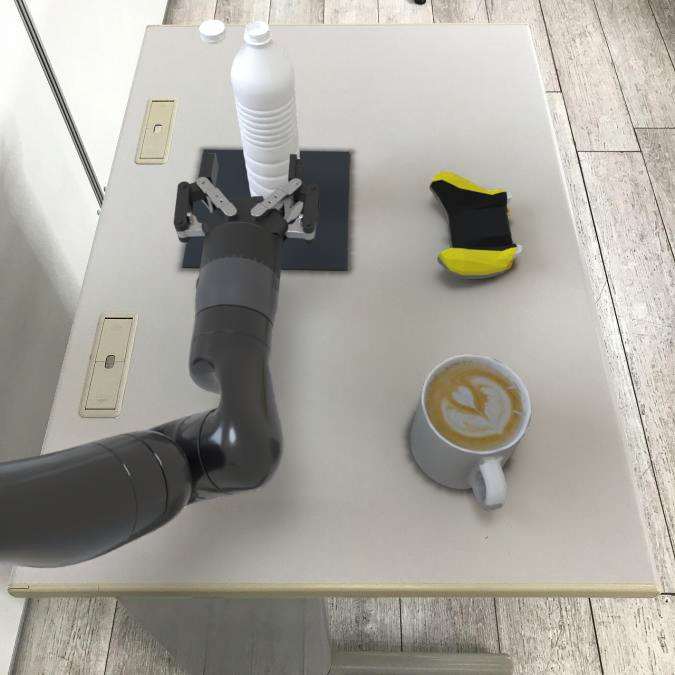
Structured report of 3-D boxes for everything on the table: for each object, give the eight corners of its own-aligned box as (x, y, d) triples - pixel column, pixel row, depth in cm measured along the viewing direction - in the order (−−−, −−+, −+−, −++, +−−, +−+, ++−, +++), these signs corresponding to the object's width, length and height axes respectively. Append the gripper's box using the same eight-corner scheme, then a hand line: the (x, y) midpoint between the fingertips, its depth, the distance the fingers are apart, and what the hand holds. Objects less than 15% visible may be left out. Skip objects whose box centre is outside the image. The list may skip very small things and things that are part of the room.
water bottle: (303, 187, 84) (291, 5, 62) (303, 225, 80) (290, 47, 59) (237, 188, 84) (201, 6, 62) (234, 226, 80) (195, 49, 59)
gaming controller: (434, 291, 76) (518, 290, 76) (441, 263, 71) (530, 262, 71) (424, 196, 83) (501, 195, 83) (429, 165, 78) (511, 164, 78)
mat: (182, 267, 77) (181, 266, 77) (203, 150, 88) (203, 149, 87) (346, 270, 77) (347, 269, 77) (349, 152, 87) (349, 151, 87)
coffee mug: (407, 398, 68) (417, 353, 60) (499, 398, 69) (522, 353, 60) (415, 524, 62) (428, 494, 53) (518, 523, 62) (547, 493, 53)
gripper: (171, 305, 63) (194, 183, 71) (316, 307, 63) (321, 185, 71) (152, 258, 56) (179, 130, 65) (313, 261, 56) (320, 132, 64)
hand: (254, 159), depth 68 cm, fingers open, 8 cm apart
